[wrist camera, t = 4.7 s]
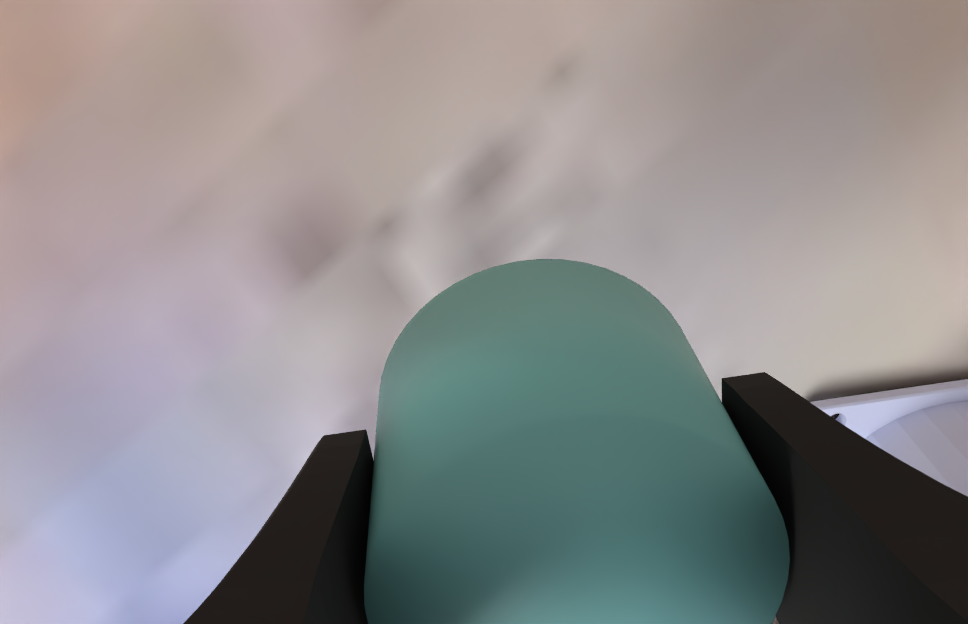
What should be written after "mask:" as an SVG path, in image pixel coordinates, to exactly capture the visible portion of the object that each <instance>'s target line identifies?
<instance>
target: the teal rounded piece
mask: <svg viewBox="0 0 968 624" xmlns="http://www.w3.org/2000/svg"><path fill="white" fill-rule="evenodd" d="M789 563H790V554H789V540H788V535H787V531H786V527H785V523H784V520H783V517H782V514H781V512H780V510H779V508H778V506H777V504H776V501H775V499H774V497H773V495H772V494H771V492H770V490H769V488H768V486H767V484H766V483H765V481H764V479H763V477H762V475H761V474H760V472H759V470H758V468H757V466H756V464H755V463H754V461H753V459H752V457H751V455H750V453H749V452H748V450H747V448H746V446H745V444H744V442H743V441H742V439H741V437H740V435H739V433H738V431H737V430H736V428H735V426H734V424H733V422H732V421H731V419H730V417H729V415H728V413H727V411H726V410H725V408H724V406H723V404H722V402H721V400H720V399H719V397H718V395H717V393H716V391H715V389H714V388H713V386H712V384H711V382H710V380H709V378H708V377H707V375H706V373H705V371H704V369H703V368H702V366H701V364H700V362H699V360H698V358H697V357H696V355H695V353H694V351H693V349H692V347H691V346H690V344H689V342H688V340H687V338H686V336H685V335H684V333H683V331H682V329H681V327H680V326H679V325H678V323H677V322H676V320H675V319H674V317H673V316H672V314H671V313H670V312H669V311H668V310H667V309H666V307H665V306H664V305H663V304H662V303H661V302H660V301H659V300H658V299H657V298H656V297H655V296H653V295H652V294H651V293H650V292H648V291H647V290H646V289H644V288H643V287H642V286H640V285H639V284H637V283H635V282H633V281H632V280H630V279H628V278H627V277H625V276H623V275H620V274H618V273H615V272H613V271H611V270H608V269H606V268H603V267H599V266H595V265H592V264H588V263H584V262H577V261H570V260H563V259H536V260H527V261H517V262H513V263H508V264H504V265H500V266H495V267H492V268H490V269H487V270H484V271H481V272H478V273H476V274H473V275H471V276H469V277H467V278H465V279H463V280H461V281H459V282H457V283H455V284H453V285H452V286H450V287H449V288H447V289H446V290H444V291H443V292H441V293H440V294H438V295H437V296H436V297H434V298H433V299H432V300H431V301H430V302H429V303H427V304H426V305H425V306H424V307H423V308H422V309H420V310H419V312H418V313H417V314H416V315H415V316H414V317H413V318H412V319H411V321H410V322H409V323H408V324H407V325H406V327H405V328H404V330H403V331H402V333H401V334H400V336H399V337H398V339H397V340H396V342H395V344H394V346H393V348H392V350H391V352H390V354H389V356H388V358H387V361H386V364H385V367H384V371H383V374H382V377H381V384H380V391H379V401H378V413H377V426H376V438H375V451H374V464H373V476H372V489H371V502H370V514H369V527H368V540H367V552H366V565H365V577H364V606H365V611H366V616H367V621H368V624H771V623H772V622H773V620H774V618H775V615H776V613H777V611H778V609H779V606H780V604H781V602H782V599H783V596H784V592H785V588H786V585H787V581H788V573H789Z"/></svg>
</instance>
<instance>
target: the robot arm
mask: <svg viewBox="0 0 968 624" xmlns="http://www.w3.org/2000/svg"><path fill="white" fill-rule="evenodd" d="M722 404H723V406H724V408H725V410H726V411H727V413H728V415H729V417H730V419H731V421H732V422H733V424H734V426H735V428H736V430H737V431H738V433H739V435H740V437H741V439H742V441H743V442H744V444H745V446H746V448H747V450H748V452H749V453H750V455H751V457H752V459H753V461H754V463H755V464H756V466H757V468H758V470H759V472H760V474H761V475H762V477H763V479H764V481H765V483H766V484H767V486H768V488H769V490H770V492H771V494H772V495H773V497H774V499H775V501H776V504H777V506H778V508H779V510H780V512H781V514H782V517H783V520H784V523H785V527H786V531H787V535H788V540H789V554H790V563H789V573H788V581H787V585H786V588H785V592H784V596H783V599H782V602H781V604H780V606H779V609H778V611H777V613H776V615H775V616H776V618H777V620H778V622H779V624H968V379H964V380H957V381H950V382H944V383H937V384H930V385H923V386H916V387H909V388H902V389H895V390H888V391H881V392H874V393H867V394H861V395H854V396H847V397H840V398H833V399H826V400H819V401H812V402H809V401H807V400H806V399H804V398H803V397H801V396H800V395H798V394H797V393H795V392H794V391H792V390H791V389H790V388H788V387H787V386H785V385H784V384H782V383H781V382H779V381H778V380H776V379H775V378H773V377H771V376H770V375H768V374H767V373H765V372H763V373H756V374H749V375H742V376H735V377H729V378H722ZM834 414H839V416H838V417H837V418H836V419H834V418H832V417H831V416H832V415H834ZM373 464H374V461H373V457H372V453H371V448H370V444H369V440H368V436H367V431H366V430H360V431H353V432H346V433H339V434H332V435H325V436H323V437H322V439H321V440H320V441H319V442H318V444H317V445H316V447H315V448H314V450H313V451H312V453H311V455H310V456H309V458H308V459H307V461H306V463H305V464H304V466H303V467H302V469H301V470H300V472H299V474H298V475H297V477H296V478H295V480H294V481H293V483H292V485H291V486H290V488H289V489H288V491H287V492H286V494H285V495H284V497H283V498H282V500H281V501H280V503H279V504H278V506H277V507H276V508H275V510H274V511H273V513H272V514H271V516H270V517H269V518H268V520H267V521H266V523H265V524H264V526H263V527H262V529H261V530H260V531H259V533H258V534H257V536H256V537H255V538H254V540H253V541H252V542H251V544H250V545H249V546H248V548H247V549H246V550H245V551H244V553H243V554H242V555H241V557H240V558H239V559H238V560H237V562H236V563H235V564H234V565H233V567H232V568H231V569H230V571H229V572H228V573H227V574H226V576H225V577H224V578H223V580H222V581H221V582H220V583H219V584H218V586H217V587H216V588H215V589H214V590H213V592H212V593H211V594H210V595H209V596H208V597H207V599H206V600H205V601H204V602H203V603H202V604H201V605H200V607H199V608H198V609H197V610H196V611H195V612H194V613H193V614H192V615H191V616H190V617H189V618H188V619H187V620H186V621H185V623H184V624H368V621H367V616H366V611H365V606H364V577H365V565H366V552H367V540H368V527H369V514H370V502H371V489H372V476H373Z"/></svg>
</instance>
